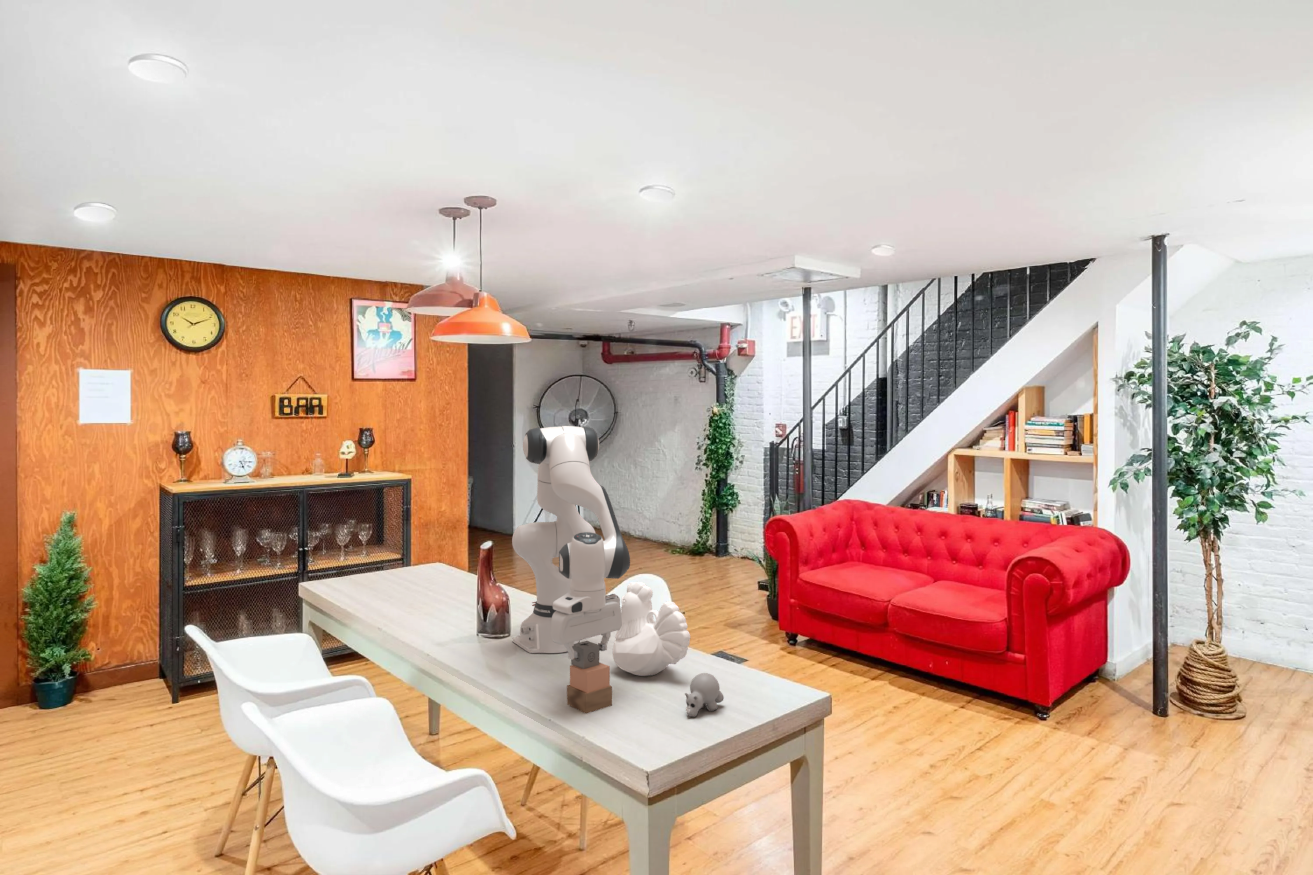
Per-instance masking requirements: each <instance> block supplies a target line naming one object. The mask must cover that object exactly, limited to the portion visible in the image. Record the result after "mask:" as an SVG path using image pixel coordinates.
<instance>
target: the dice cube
mask: <svg viewBox="0 0 1313 875" xmlns="http://www.w3.org/2000/svg"><path fill="white" fill-rule="evenodd" d="M572 648H573V650H574V651H577V658H576V659H573V660H571V659H570V661H571V662H570V664H571V665H574V666H576V667H579V668H581V669H586V668H590V667H594V666H597V665H599V662H600V651H599V645H598V643H595V642H592V641H589V640H584V641H579V642H578V643H576V644H574V646H572ZM571 665H570V666H571Z"/></svg>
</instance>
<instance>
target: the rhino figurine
mask: <svg viewBox="0 0 1313 875" xmlns="http://www.w3.org/2000/svg"><path fill="white" fill-rule="evenodd" d="M689 691H690V693H687V692H685V693H684V695H685V698H686V699H685V703H686V708H685V709H686V710H685V711H686V714H687V715H688V717H690V718H694V717H696V716H698V713H699V711H700V709H702V708H705V707H706V709H707V710H708V711H709V712H714V711H716V710H717V708H718V704H719V703H721V702H723V701H724V698H725V697H724V694H723V693H722V692H721V691H720V684H719V681H718V679H717V678H716V676H714V675H712V674H710V673H706V672H702V673H699V674H697V675H695V676H694V677H693V679H692V680H691V683H690V685H689Z"/></svg>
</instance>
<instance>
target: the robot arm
mask: <svg viewBox="0 0 1313 875" xmlns="http://www.w3.org/2000/svg"><path fill="white" fill-rule="evenodd" d="M599 440H600V439H599V436H598V433H597V432H596V430H595V429H594V428H592V427H589V426H575V425H560V426H549V427H541V428H540V427H533V428H530V429H529V430H527V432H526V433H525V435H524V438H523V442H522V450H523V453H524V456H525V460H527V461H528V462H529V463H531V464H536V465H538V468H537V486H536V487H537V490H536V491H537V493H536V495H537V496H536V497H537V498H536V500H537V504H538V505H539V507H540V508H541V509H542V510H544V511H546V512H548V513H550V514H552V515H555V516H556V518H557V519H556V520H555V521H540V522H539V521H535V522H534V521H533V522H528V523H525V524H522V525H521V524H520V525H518V526H517V527H516V528H515V530H514V532H513V535H512V539H511V542H512V543H511V545H512V548H513V550H514V552H515V554H517V555H518V556H519V558H522V559H523V560H524V561H525V562H526V563H527V564H528V565H529V567H530V568H531V570H532V572H533V575H534V578H535V587H536V601H532V602H531V603H532V604H531V606H532V607H533V612H532V613H531V614H530V615H529V616H528V617H527V618H526V619H524V620H523V621H522V622H521V624H520V629H519V635H516V636H515V637H513V638H512V642H513V643H514V644H516V645H517V646H518V647H520V648H522V650H525V652H528V653H530V654H540V653H541V654H561V653H566V652H567V658H568V659H569V660H570V661H571V660H573V659H576V658H577V651H574V650H573V648H572V646H574V644H576V643H580V642H581V641H582V640H586V639H590V638H592V637H597V636H602V637H601V639H600V642H598V643H597V644H598V645H599V652H604V651H607V650H608V642H609V641H610V638H611V633H613V632H617V631H618V630H620V629H621V627H622V614H621V598H620V597H619V596H618V595H617V594H616V593H610V594H607V592H606V591H607V590H606V582H605V579H617V580H618V579H620V578H621V577H622V576H624V575H625V574H626V573H627V572H628V571H629V569H630V568H631V556H630V552H629V549H628V546H627V543H626V541H625V539H624V537H623V534H622V532H621V529H620V526H619V523H618V520H617V517H616V514H615V510H614V508H613V505H612V502H611V500H610V497H609V495H608V491H607V490H606V488H605V487H604V486H603V485H601V484H599V483H598V482H597V481H596V479H595V478H594V476H593V474H592V471H591V465H590V461H593V460H594V459H595V458H597V456H598V452H599V449H600V441H599ZM576 506H579V507H582V508H585V509H587V510H589V511H590V512H592V513H593V514H594V515H595V516H596V517H597V520H598V523H599V526H600V530H601V532H602V535H603V536H602V535H600V534H598V533H596V530H595V528H594V526H593V525H592V524H590V522H588V521H587V520H585V518H583V517H582V516H581V514H580V513H579V511H578V509H577V507H576ZM554 558H558V566H557V565H556V564H554V563H553V559H554Z"/></svg>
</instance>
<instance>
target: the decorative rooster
mask: <svg viewBox="0 0 1313 875" xmlns="http://www.w3.org/2000/svg"><path fill="white" fill-rule="evenodd" d="M653 593H654V592H653V590H652V588H651V587H650V586H647V585H646V583H644V582H641V581H637V582H634V581H631V582H630V583H628V585H627V588H626V593H625V594H624V595H622V596H621V598H620V604H621V606H620V608H621V614H622V627H621V629H620V630H617V631H616V634H615V636H614V637H615V640H614V642H613V647H612V658H613V661H614V664H616V666H617V667H618V668H620V669H621V670H623V671H624V672H627V673H630V674H632V675H634V676H635V675H636V676H640V677H647V676H648V677H649V676H656V675H657V674H658V673H660V672H662V671H664V670H665V669H666V668H667V667H668V666H669V665H676V664H677V663H679V662H680V660H683V659H684V658H685V657H686V655H687V654H688V650H689V648H688V647H690V643H691V642H690V639H691V634H690V632H689V630H688V628H689V626H688V623H687V619H686V616H684V614H683V613H682V612H681V611H680V608H679V606H678V605H677V604H676V603H675V602H674V601H666V602H664V603H662V605H661V606H660V608H659V611H658V610H657V609H653V603H652V598H653V595H654V594H653ZM654 617H655V619H654Z"/></svg>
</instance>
